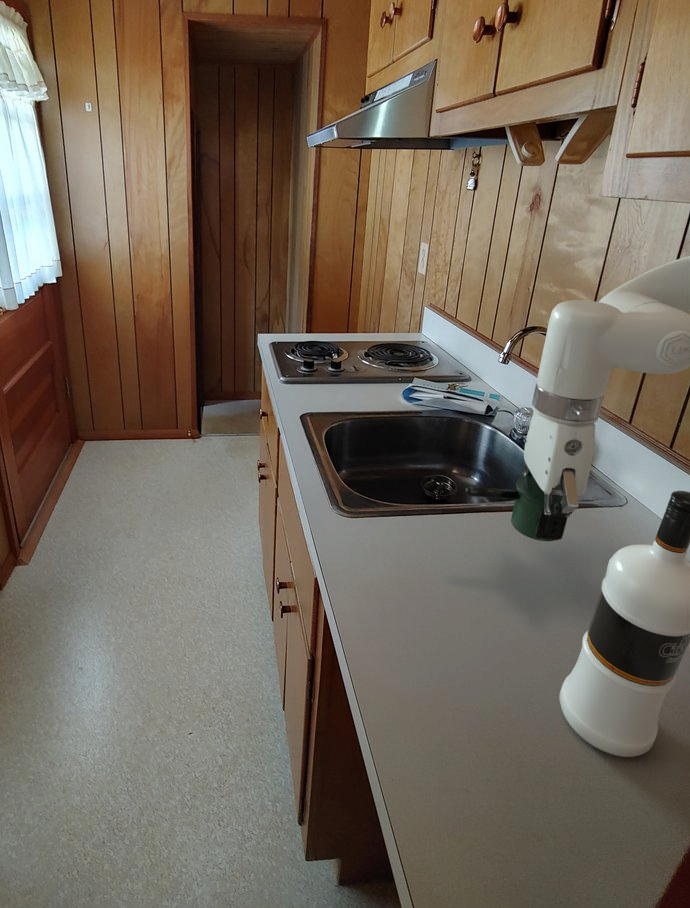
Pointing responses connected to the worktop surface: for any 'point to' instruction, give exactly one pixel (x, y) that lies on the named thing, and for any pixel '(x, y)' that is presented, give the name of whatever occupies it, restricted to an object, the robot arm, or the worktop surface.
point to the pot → (521, 503)
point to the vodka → (634, 640)
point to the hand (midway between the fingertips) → (538, 518)
